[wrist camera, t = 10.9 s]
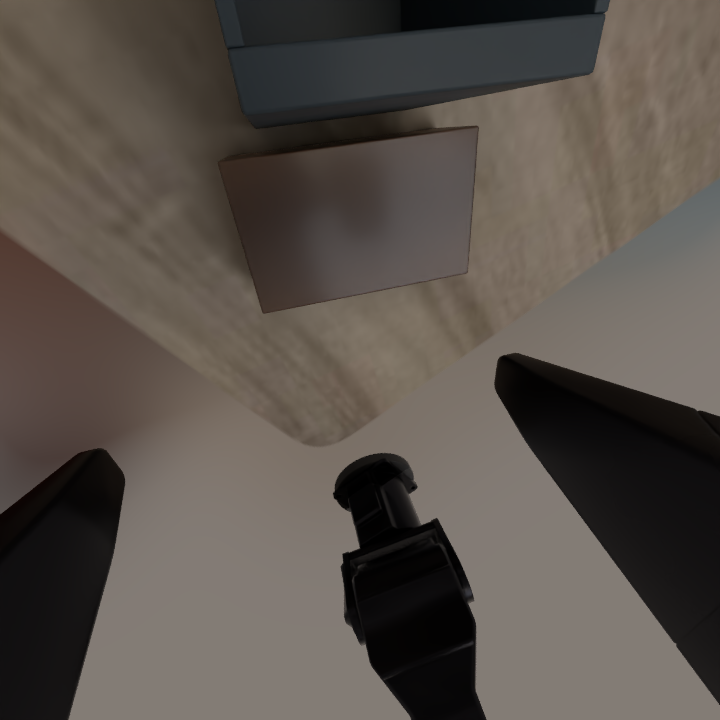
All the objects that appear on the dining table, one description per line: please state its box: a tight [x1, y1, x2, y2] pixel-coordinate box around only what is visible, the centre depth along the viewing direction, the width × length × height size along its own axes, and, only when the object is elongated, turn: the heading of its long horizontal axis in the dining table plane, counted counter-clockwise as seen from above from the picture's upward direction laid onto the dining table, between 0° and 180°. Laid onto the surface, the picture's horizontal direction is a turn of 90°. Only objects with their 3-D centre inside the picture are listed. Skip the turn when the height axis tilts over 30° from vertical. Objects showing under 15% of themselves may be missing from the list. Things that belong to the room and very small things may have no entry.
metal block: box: [218, 126, 479, 314], centre depth 16 cm, size 6×10×4 cm, turn 97°
